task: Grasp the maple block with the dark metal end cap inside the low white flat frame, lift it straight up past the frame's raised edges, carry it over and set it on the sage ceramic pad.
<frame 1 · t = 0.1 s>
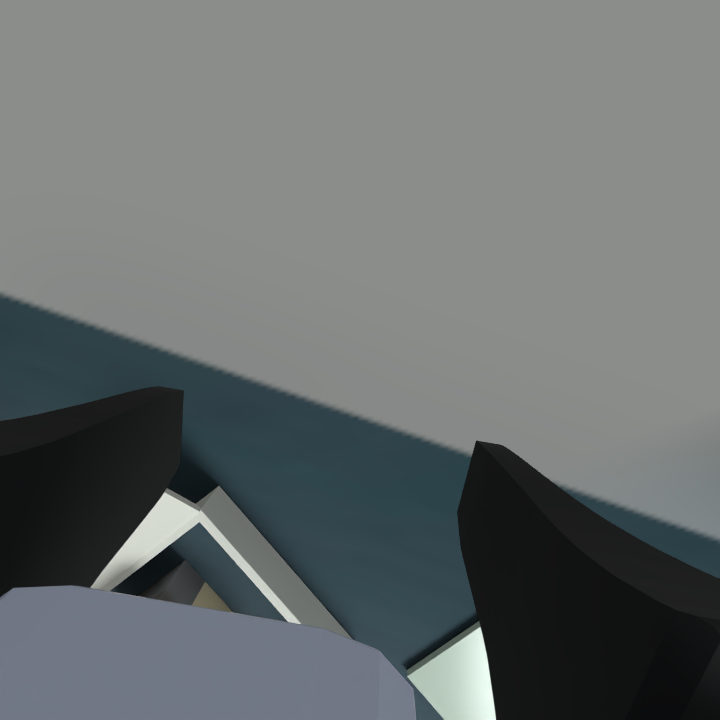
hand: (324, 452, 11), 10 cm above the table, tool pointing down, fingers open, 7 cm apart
block: (182, 671, 21), in the white flat frame
pad: (503, 681, 24), on the table
white flat frame: (201, 632, 24), on the table
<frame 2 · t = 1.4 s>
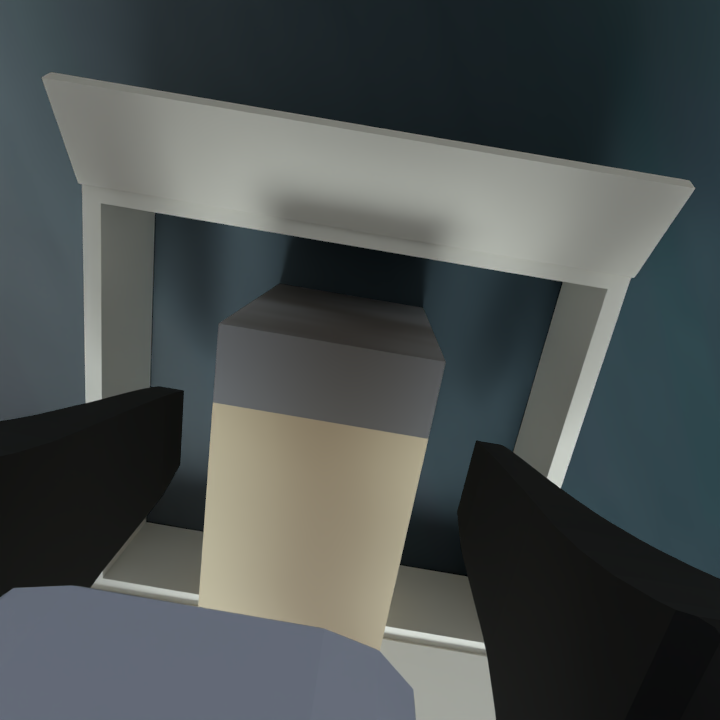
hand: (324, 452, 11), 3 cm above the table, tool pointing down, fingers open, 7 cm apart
block: (322, 451, 12), in the white flat frame
white flat frame: (333, 411, 14), on the table
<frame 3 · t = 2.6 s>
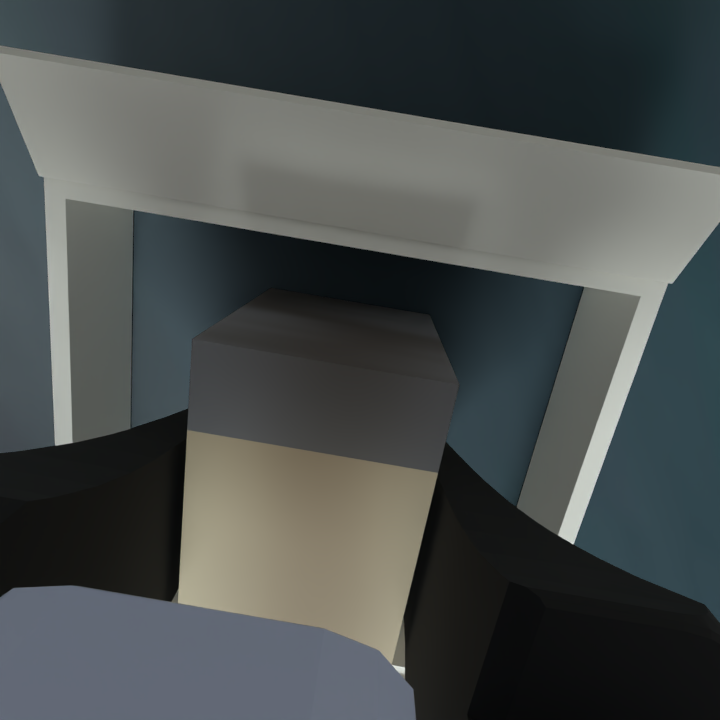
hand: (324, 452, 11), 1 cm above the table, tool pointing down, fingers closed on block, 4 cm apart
block: (317, 476, 10), in the white flat frame, touching gripper
white flat frame: (330, 427, 13), on the table
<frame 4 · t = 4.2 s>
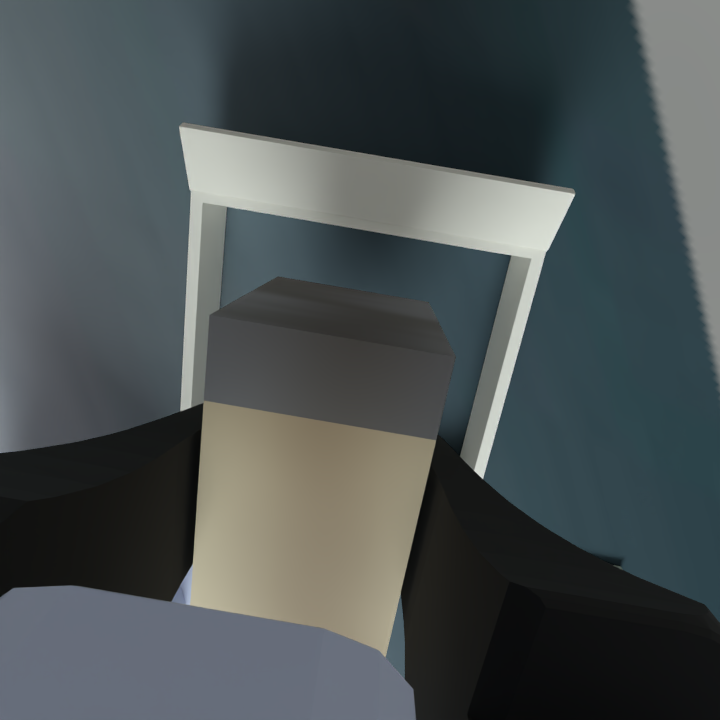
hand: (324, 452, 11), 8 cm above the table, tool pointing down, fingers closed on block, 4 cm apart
block: (322, 453, 11), point 9 cm above the table, touching gripper
white flat frame: (349, 352, 19), on the table
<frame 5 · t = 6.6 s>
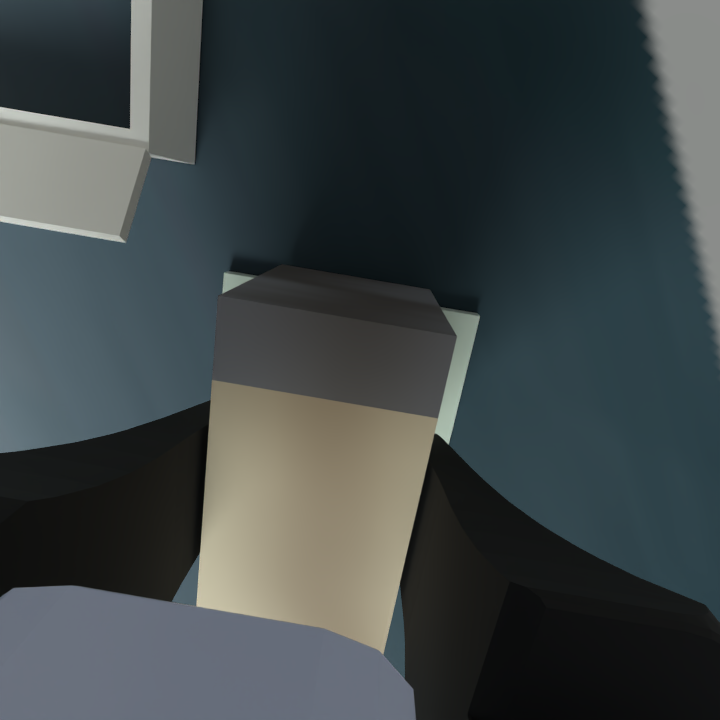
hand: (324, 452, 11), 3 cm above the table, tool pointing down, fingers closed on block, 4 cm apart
block: (326, 436, 11), on the pad, touching gripper
pad: (334, 406, 14), on the table
when the fingers open (3 cm above the table, at t = 7.3 s): block stays where it is, resting on pad.
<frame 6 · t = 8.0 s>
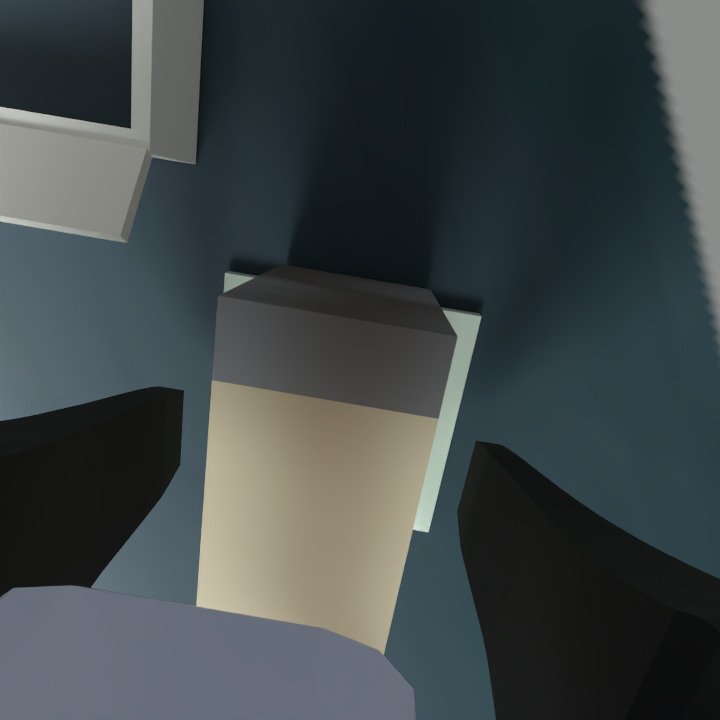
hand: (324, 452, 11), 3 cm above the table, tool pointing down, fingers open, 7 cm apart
block: (326, 436, 11), on the pad
pad: (335, 407, 14), on the table
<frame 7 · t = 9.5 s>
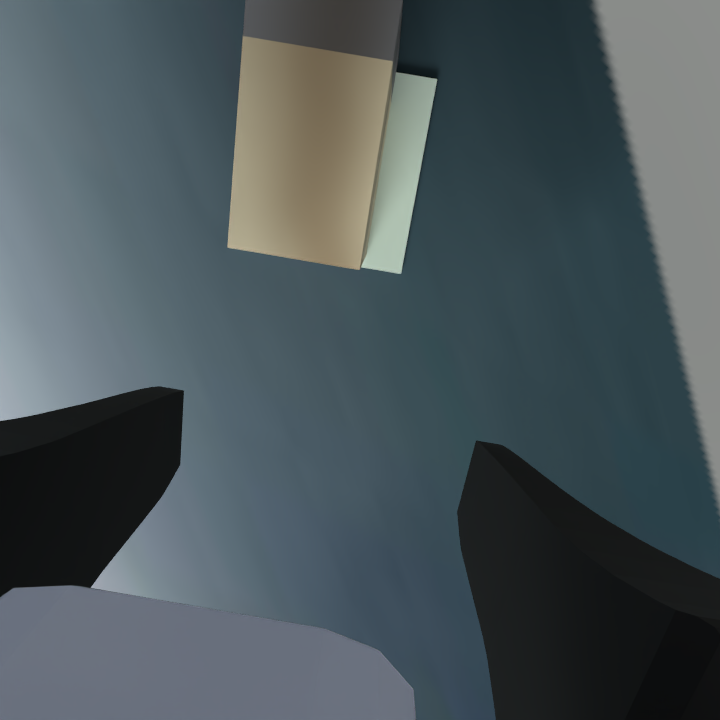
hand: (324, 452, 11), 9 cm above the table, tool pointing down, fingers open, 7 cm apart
block: (320, 144, 15), on the pad
pad: (328, 167, 18), on the table
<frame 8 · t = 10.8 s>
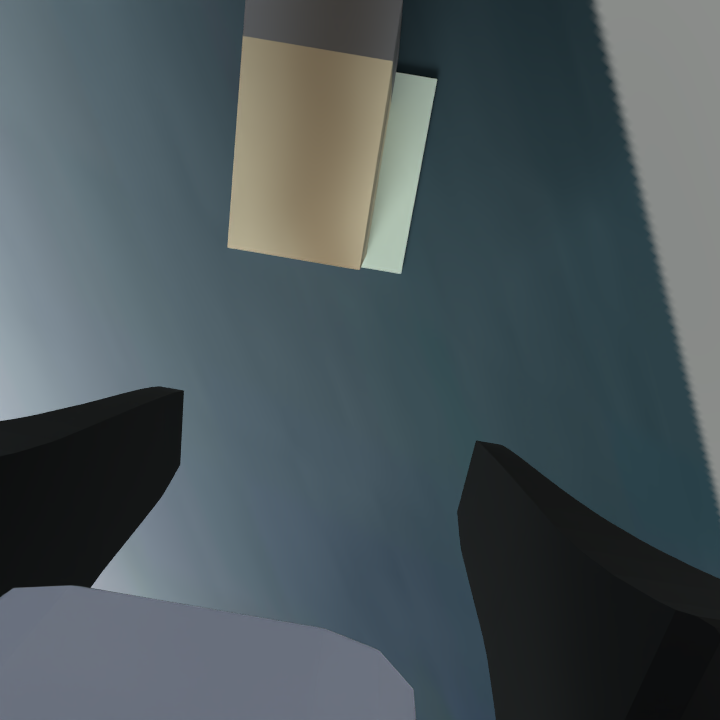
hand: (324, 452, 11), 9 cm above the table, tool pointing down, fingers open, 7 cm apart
block: (320, 143, 15), on the pad
pad: (328, 167, 18), on the table
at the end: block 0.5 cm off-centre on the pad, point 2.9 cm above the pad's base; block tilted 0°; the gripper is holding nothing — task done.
